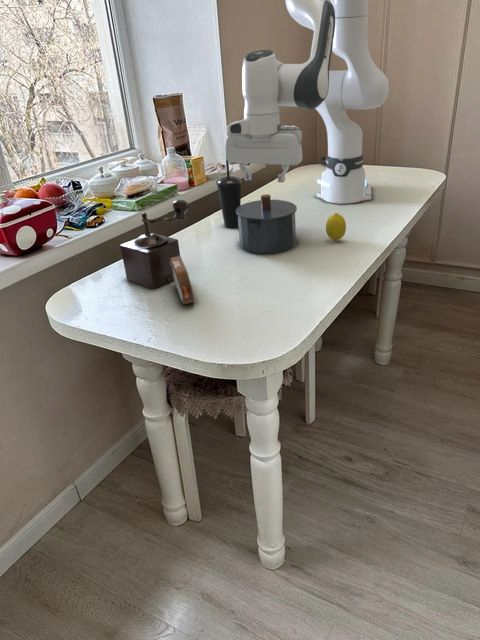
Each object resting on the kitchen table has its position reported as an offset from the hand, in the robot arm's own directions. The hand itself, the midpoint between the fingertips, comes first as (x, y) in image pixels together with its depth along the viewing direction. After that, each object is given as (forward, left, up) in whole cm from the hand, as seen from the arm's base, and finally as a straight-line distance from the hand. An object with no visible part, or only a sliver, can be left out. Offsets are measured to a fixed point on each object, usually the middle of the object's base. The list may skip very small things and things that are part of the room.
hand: (264, 180), depth 141 cm
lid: (0, 0, -8) cm, 8 cm away
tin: (+36, -8, -18) cm, 41 cm away
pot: (0, 0, -18) cm, 18 cm away
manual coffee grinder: (+26, -19, -18) cm, 37 cm away
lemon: (-6, +18, -18) cm, 26 cm away
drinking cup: (-12, -16, -18) cm, 27 cm away
